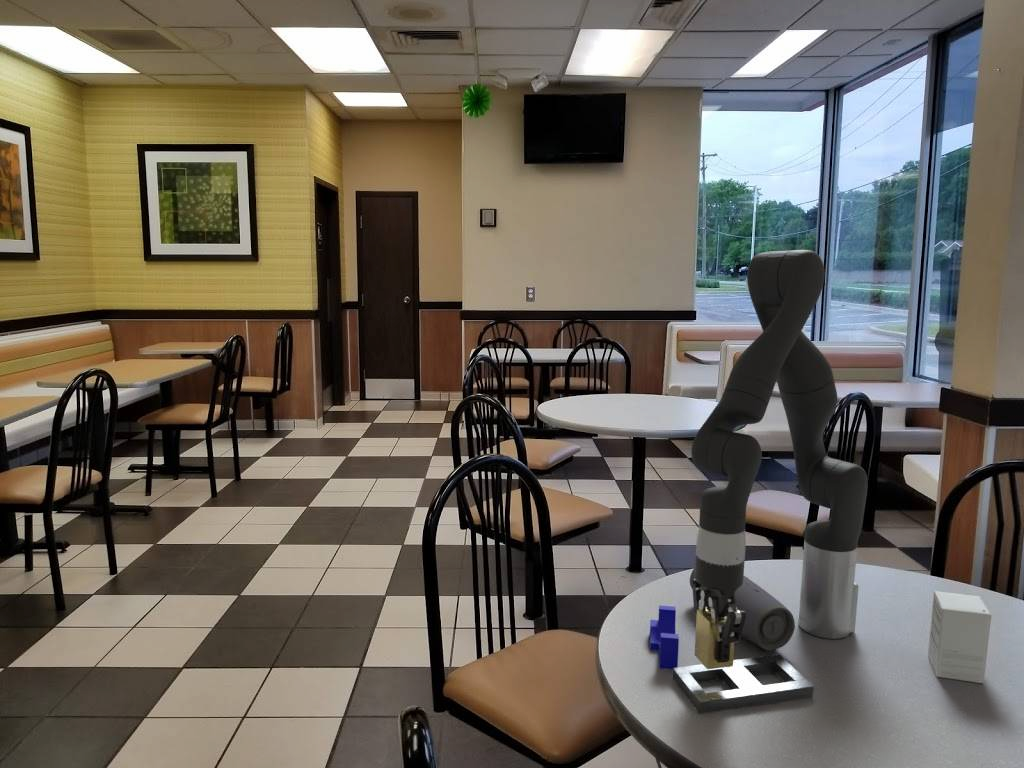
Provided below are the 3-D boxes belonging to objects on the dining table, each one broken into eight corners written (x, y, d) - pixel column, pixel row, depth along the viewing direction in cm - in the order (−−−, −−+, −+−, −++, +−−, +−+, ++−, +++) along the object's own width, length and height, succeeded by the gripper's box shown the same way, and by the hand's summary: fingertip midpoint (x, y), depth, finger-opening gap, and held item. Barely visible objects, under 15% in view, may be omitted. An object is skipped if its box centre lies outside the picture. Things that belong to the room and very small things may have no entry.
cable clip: (649, 634, 142) (650, 604, 141) (674, 636, 142) (675, 606, 141) (650, 668, 131) (652, 636, 130) (677, 670, 130) (678, 638, 129)
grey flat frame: (778, 664, 132) (779, 654, 131) (812, 697, 122) (813, 686, 122) (672, 678, 127) (672, 668, 127) (699, 713, 118) (700, 702, 117)
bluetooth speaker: (796, 652, 136) (800, 601, 134) (751, 660, 133) (754, 608, 131) (725, 598, 157) (728, 552, 155) (686, 604, 154) (688, 558, 153)
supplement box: (973, 662, 133) (981, 595, 130) (984, 685, 126) (992, 614, 123) (926, 655, 135) (933, 589, 133) (934, 677, 128) (942, 607, 126)
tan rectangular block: (719, 652, 125) (722, 607, 124) (732, 666, 121) (735, 619, 120) (694, 654, 124) (697, 609, 123) (707, 669, 120) (709, 622, 119)
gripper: (765, 569, 113) (758, 674, 116) (720, 535, 127) (714, 629, 130) (720, 574, 112) (714, 679, 115) (678, 539, 126) (674, 634, 128)
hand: (714, 652), depth 122 cm, fingers closed on tan rectangular block, 4 cm apart
